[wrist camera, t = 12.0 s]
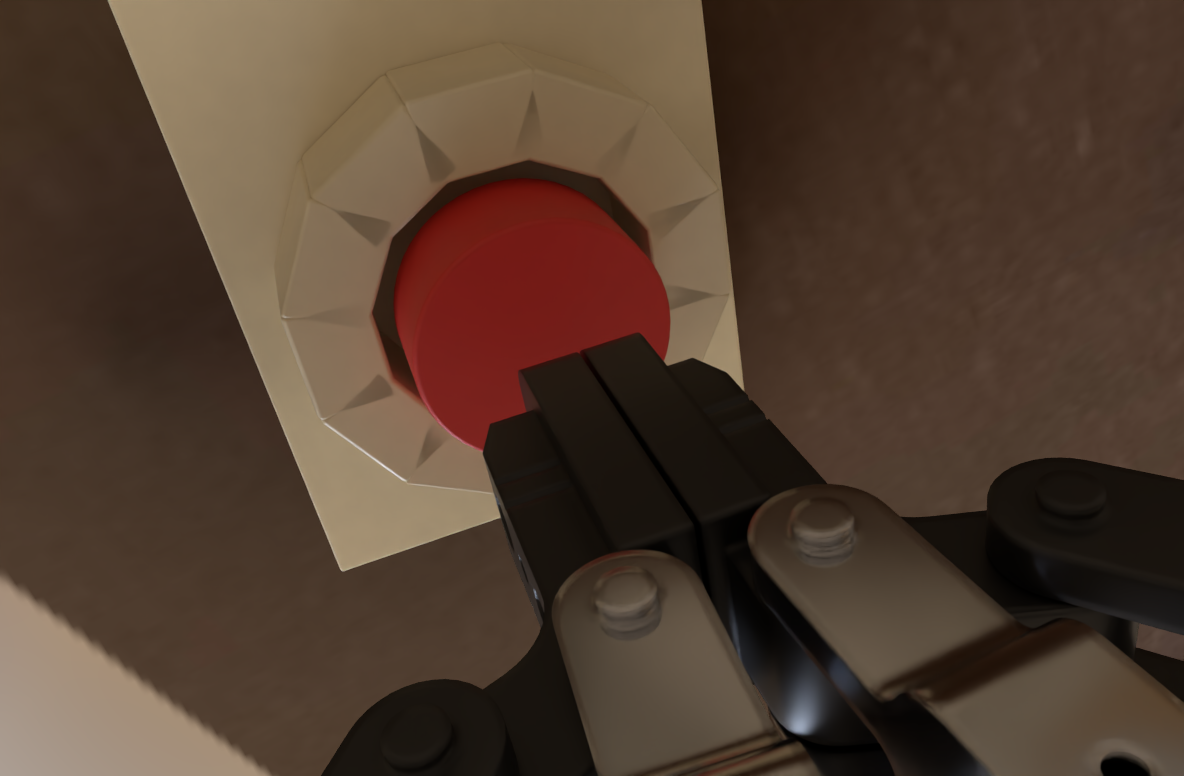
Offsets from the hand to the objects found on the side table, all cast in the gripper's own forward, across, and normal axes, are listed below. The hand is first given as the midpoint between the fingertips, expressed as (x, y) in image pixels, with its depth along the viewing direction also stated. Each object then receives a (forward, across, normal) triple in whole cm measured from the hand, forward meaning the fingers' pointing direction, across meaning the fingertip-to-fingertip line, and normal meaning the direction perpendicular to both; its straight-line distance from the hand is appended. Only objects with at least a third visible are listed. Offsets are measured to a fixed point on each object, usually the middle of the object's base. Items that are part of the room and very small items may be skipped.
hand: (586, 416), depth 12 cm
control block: (+7, 0, 0) cm, 7 cm away
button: (+4, 0, 0) cm, 4 cm away
